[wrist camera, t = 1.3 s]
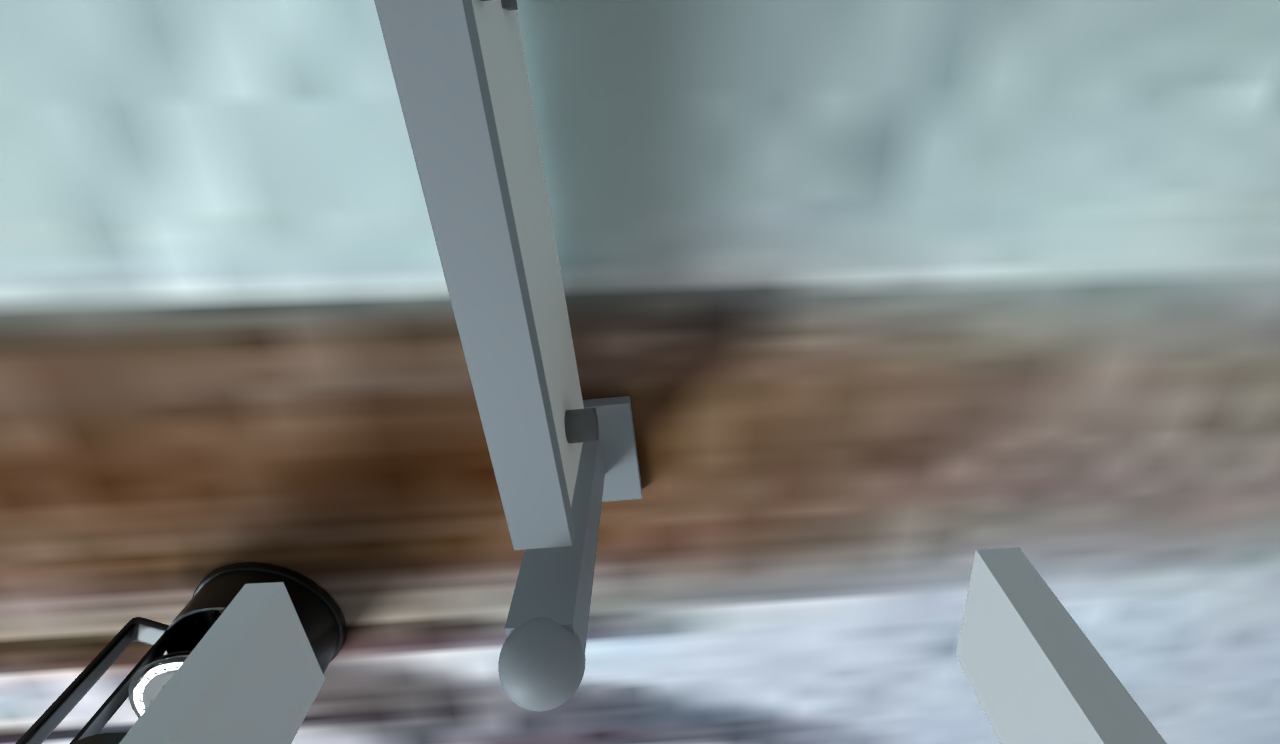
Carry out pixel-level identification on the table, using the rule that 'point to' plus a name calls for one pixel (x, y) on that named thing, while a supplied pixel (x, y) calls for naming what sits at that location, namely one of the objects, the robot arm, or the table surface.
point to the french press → (188, 646)
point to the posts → (567, 572)
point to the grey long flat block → (495, 247)
